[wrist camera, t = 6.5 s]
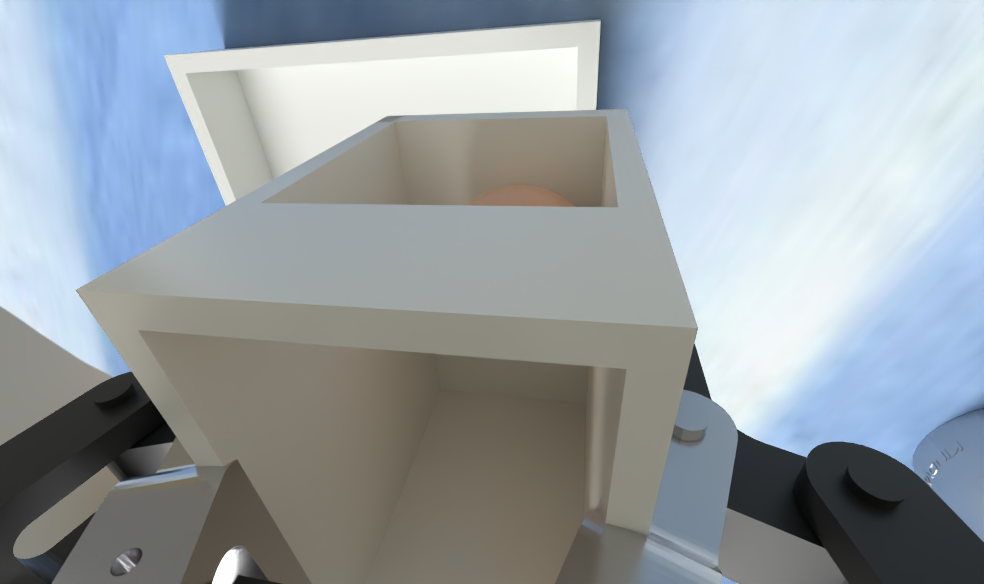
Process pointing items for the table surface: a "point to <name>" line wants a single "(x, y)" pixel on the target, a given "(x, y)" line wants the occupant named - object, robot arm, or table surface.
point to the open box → (425, 345)
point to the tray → (371, 89)
